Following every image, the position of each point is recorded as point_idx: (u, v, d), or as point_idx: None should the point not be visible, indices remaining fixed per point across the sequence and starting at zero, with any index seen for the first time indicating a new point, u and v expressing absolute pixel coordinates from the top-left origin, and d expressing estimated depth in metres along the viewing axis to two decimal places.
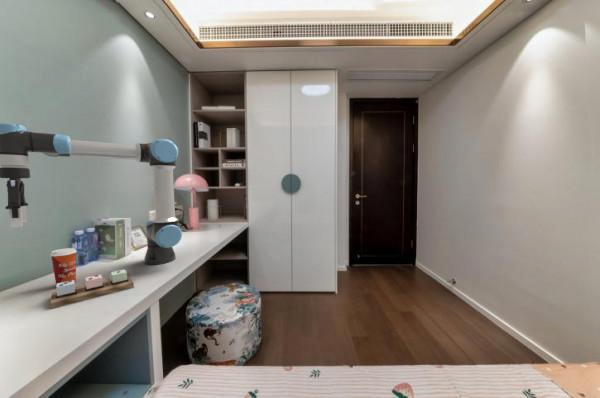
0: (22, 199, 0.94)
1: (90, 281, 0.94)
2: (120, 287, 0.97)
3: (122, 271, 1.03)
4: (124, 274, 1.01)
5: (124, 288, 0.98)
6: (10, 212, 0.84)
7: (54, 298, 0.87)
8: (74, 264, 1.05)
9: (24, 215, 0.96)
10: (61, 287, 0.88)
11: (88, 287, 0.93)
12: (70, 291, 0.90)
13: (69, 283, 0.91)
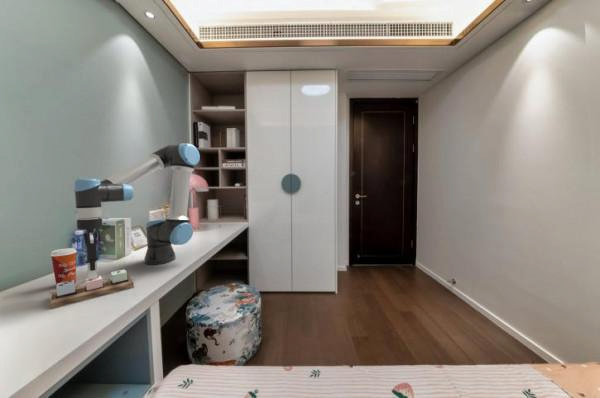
0: None
1: (90, 282, 0.94)
2: (120, 287, 0.97)
3: (122, 271, 1.03)
4: (124, 274, 1.01)
5: (124, 288, 0.98)
6: (88, 265, 0.94)
7: (54, 298, 0.87)
8: (74, 264, 1.05)
9: None
10: (61, 287, 0.88)
11: (88, 288, 0.93)
12: (70, 291, 0.90)
13: (69, 283, 0.91)
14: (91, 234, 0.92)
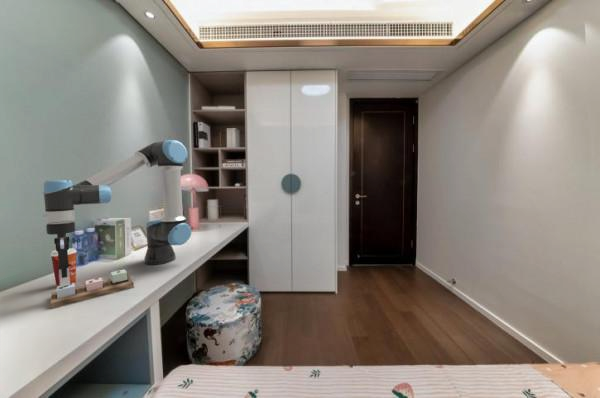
0: None
1: (90, 284, 0.94)
2: (120, 287, 0.97)
3: (122, 271, 1.03)
4: (124, 274, 1.01)
5: (124, 288, 0.98)
6: (60, 272, 0.89)
7: (54, 298, 0.87)
8: (74, 264, 1.05)
9: None
10: (61, 290, 0.88)
11: (88, 290, 0.93)
12: (70, 294, 0.90)
13: (69, 286, 0.91)
14: (62, 239, 0.87)
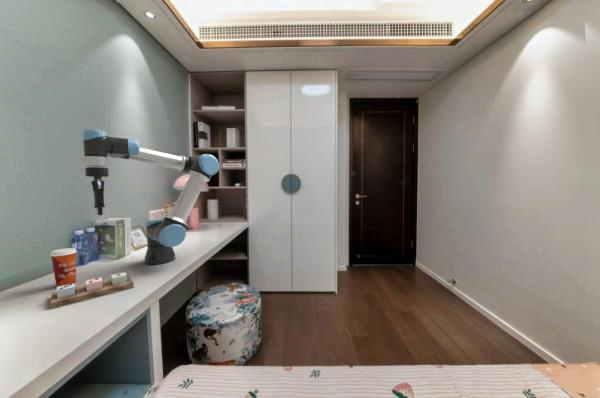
0: None
1: (90, 284, 0.94)
2: (120, 287, 0.97)
3: (123, 274, 1.03)
4: (124, 277, 1.01)
5: (124, 288, 0.98)
6: (96, 210, 1.03)
7: (54, 298, 0.87)
8: (74, 264, 1.05)
9: None
10: (61, 290, 0.88)
11: (88, 290, 0.93)
12: (70, 294, 0.90)
13: (69, 286, 0.91)
14: (99, 180, 1.01)
